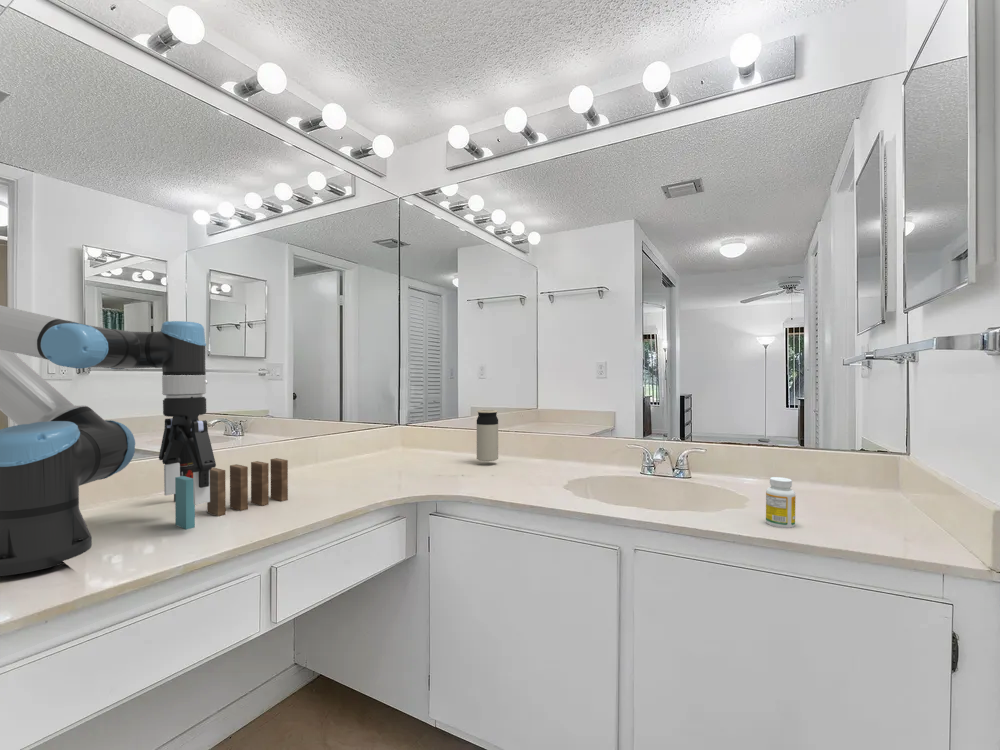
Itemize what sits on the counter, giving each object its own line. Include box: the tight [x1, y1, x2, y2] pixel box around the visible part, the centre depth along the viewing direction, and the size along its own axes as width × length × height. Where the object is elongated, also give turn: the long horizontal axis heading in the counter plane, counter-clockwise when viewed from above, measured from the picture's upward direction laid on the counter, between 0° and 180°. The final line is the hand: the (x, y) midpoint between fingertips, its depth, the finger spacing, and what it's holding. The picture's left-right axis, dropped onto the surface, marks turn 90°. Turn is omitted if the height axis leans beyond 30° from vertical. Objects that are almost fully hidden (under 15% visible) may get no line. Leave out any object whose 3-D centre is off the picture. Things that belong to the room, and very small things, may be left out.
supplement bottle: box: [765, 476, 797, 529], centre depth 100 cm, size 5×5×10 cm
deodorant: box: [173, 445, 195, 502], centre depth 120 cm, size 6×6×15 cm
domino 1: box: [174, 476, 196, 530], centre depth 99 cm, size 2×5×10 cm, turn 55°
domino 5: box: [270, 457, 289, 502], centre depth 120 cm, size 2×5×10 cm, turn 55°
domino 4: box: [250, 460, 270, 507], centre depth 116 cm, size 2×5×10 cm, turn 55°
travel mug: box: [476, 409, 499, 462], centre depth 175 cm, size 8×8×18 cm
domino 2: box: [206, 467, 227, 517], centre depth 108 cm, size 2×5×10 cm, turn 56°
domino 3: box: [229, 464, 249, 512], centre depth 112 cm, size 2×5×10 cm, turn 55°
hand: (186, 498), depth 99 cm, fingers open, 13 cm apart
